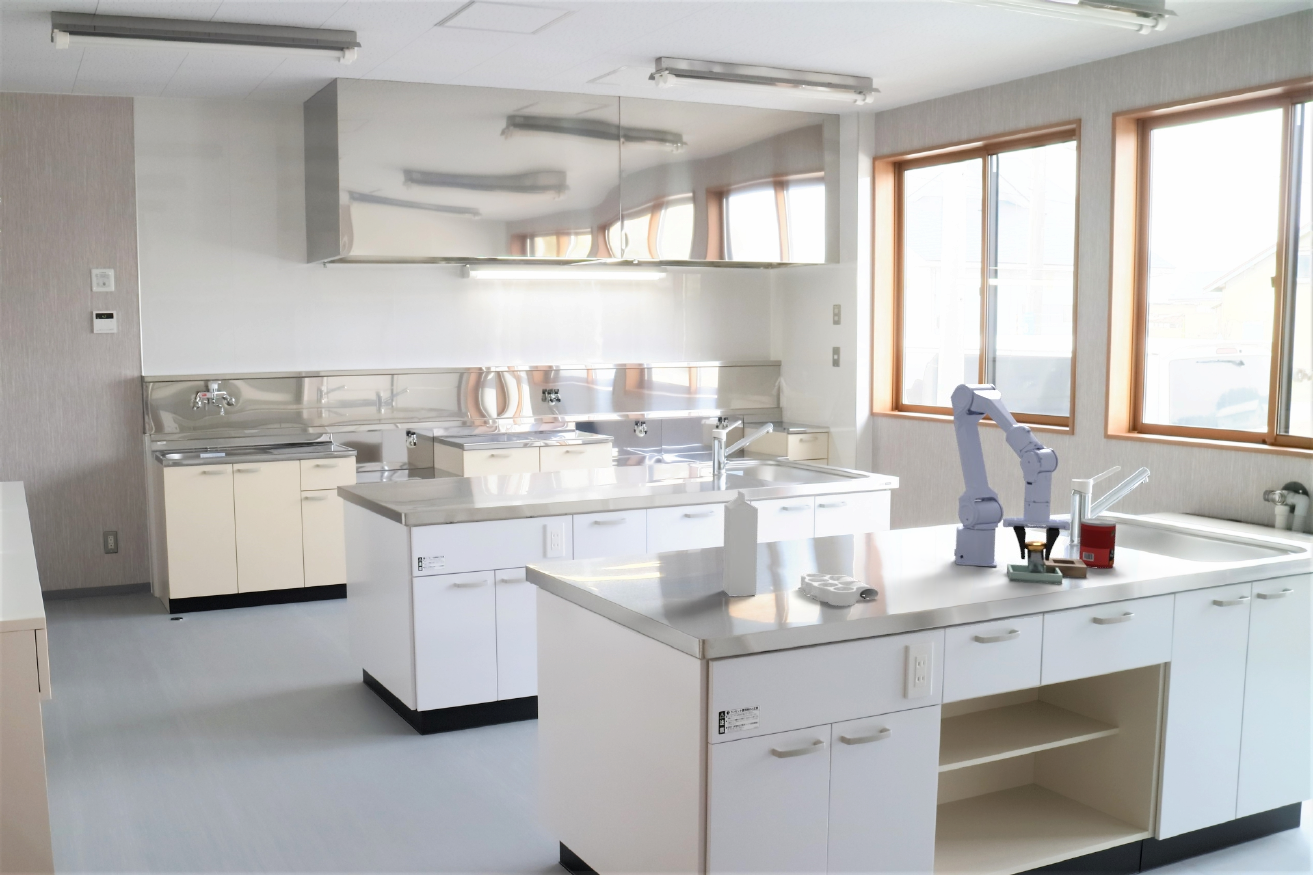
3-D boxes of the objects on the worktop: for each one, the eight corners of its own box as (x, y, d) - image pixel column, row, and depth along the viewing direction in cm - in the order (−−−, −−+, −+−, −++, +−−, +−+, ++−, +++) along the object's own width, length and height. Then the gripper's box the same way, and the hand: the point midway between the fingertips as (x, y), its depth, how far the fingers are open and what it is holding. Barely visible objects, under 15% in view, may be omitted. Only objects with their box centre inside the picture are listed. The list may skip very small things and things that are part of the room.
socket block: (1045, 575, 254) (1046, 564, 253) (1041, 567, 262) (1041, 557, 262) (1086, 577, 252) (1086, 566, 251) (1080, 569, 260) (1081, 559, 260)
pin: (1025, 575, 249) (1024, 545, 248) (1025, 570, 254) (1024, 540, 253) (1047, 575, 248) (1046, 546, 247) (1046, 570, 252) (1046, 541, 251)
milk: (749, 589, 236) (752, 489, 234) (756, 596, 230) (759, 493, 228) (722, 590, 235) (724, 489, 233) (728, 596, 229) (730, 493, 227)
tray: (1010, 580, 247) (1010, 572, 247) (1006, 572, 256) (1007, 563, 256) (1062, 583, 245) (1062, 575, 244) (1056, 575, 254) (1057, 566, 253)
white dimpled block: (885, 604, 226) (822, 609, 221) (845, 585, 243) (785, 589, 238) (886, 588, 225) (822, 593, 221) (845, 570, 242) (785, 574, 238)
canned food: (1116, 569, 261) (1119, 524, 260) (1081, 567, 263) (1084, 522, 261) (1110, 562, 268) (1112, 519, 267) (1076, 561, 270) (1078, 517, 269)
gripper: (1005, 502, 246) (1003, 560, 248) (1073, 505, 243) (1070, 564, 244) (1003, 497, 253) (1000, 554, 255) (1068, 500, 250) (1066, 558, 251)
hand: (1034, 559), depth 250 cm, fingers closed on pin, 4 cm apart
